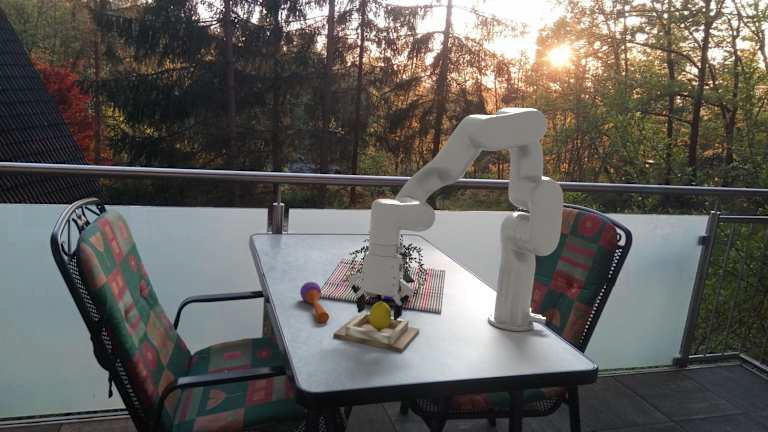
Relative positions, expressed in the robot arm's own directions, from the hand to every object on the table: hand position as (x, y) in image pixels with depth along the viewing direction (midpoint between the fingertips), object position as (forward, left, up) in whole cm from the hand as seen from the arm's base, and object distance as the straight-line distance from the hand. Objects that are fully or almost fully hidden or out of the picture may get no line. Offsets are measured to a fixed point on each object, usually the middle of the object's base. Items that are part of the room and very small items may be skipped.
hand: (378, 314), depth 139 cm
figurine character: (+7, -27, -6) cm, 28 cm away
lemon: (0, 0, -4) cm, 5 cm away
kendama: (+22, -8, -6) cm, 24 cm away
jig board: (0, 0, -5) cm, 5 cm away
